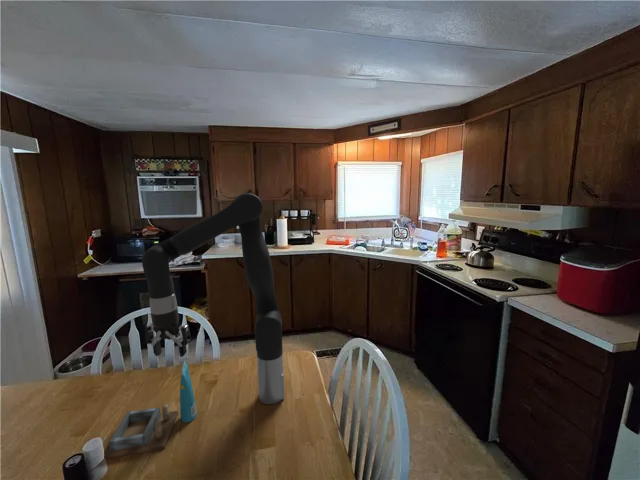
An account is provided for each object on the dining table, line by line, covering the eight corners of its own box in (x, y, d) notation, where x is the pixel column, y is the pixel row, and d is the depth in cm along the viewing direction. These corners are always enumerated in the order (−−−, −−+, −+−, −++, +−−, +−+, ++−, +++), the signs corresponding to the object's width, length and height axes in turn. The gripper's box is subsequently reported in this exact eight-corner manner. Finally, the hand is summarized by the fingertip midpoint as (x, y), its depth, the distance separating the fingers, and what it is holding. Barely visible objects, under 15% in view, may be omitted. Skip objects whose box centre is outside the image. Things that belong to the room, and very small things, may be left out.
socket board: (177, 413, 101) (176, 397, 99) (164, 448, 87) (162, 430, 86) (126, 421, 98) (124, 404, 96) (104, 458, 84) (101, 439, 83)
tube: (181, 411, 101) (176, 361, 98) (196, 407, 103) (192, 358, 100) (180, 427, 95) (175, 374, 91) (196, 423, 96) (192, 370, 93)
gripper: (191, 303, 95) (197, 349, 98) (151, 303, 97) (157, 348, 100) (178, 313, 88) (184, 362, 91) (134, 313, 89) (142, 361, 92)
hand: (170, 355), depth 95 cm, fingers open, 8 cm apart
